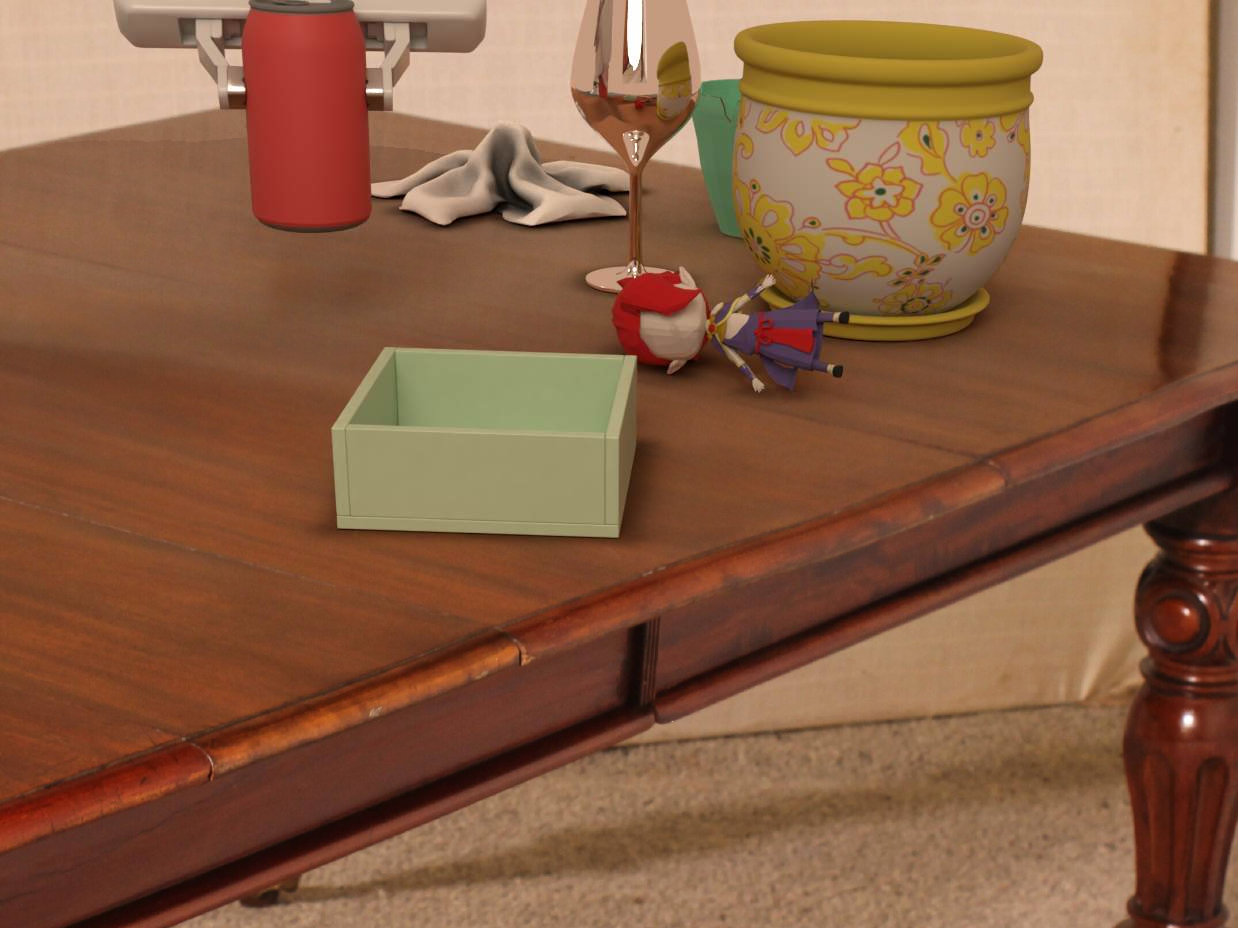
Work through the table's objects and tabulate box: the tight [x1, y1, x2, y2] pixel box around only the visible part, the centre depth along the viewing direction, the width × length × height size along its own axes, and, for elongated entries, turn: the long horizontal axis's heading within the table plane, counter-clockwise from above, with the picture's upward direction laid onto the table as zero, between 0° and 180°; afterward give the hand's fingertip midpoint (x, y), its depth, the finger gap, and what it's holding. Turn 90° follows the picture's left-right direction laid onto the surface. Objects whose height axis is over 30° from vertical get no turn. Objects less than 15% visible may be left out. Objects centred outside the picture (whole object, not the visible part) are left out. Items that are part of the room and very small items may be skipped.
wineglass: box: [569, 0, 703, 294], centre depth 118 cm, size 8×8×18 cm
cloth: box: [371, 119, 629, 227], centre depth 141 cm, size 22×19×6 cm
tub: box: [330, 346, 638, 539], centre depth 86 cm, size 12×12×5 cm
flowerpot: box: [732, 19, 1044, 342], centre depth 113 cm, size 18×18×16 cm
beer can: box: [241, 0, 373, 234], centre depth 104 cm, size 7×7×12 cm
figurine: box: [611, 265, 850, 393], centre depth 102 cm, size 6×8×15 cm
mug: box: [691, 78, 743, 239], centre depth 134 cm, size 15×10×10 cm
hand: (307, 104), depth 103 cm, fingers closed on beer can, 6 cm apart
